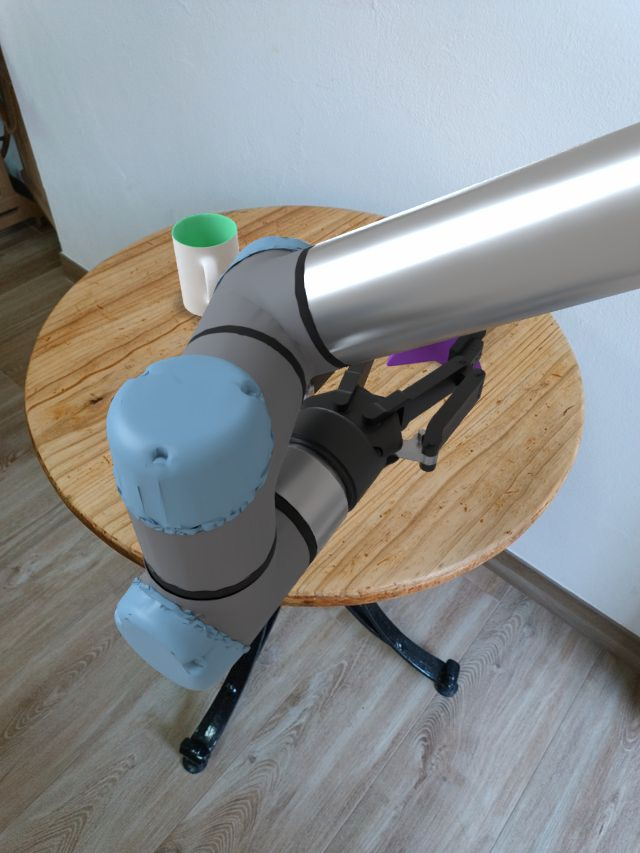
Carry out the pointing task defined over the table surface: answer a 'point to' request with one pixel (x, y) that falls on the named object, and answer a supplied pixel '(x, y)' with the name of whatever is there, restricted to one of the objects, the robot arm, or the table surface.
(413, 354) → the arrowhead
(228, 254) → the mug
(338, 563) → the table surface
